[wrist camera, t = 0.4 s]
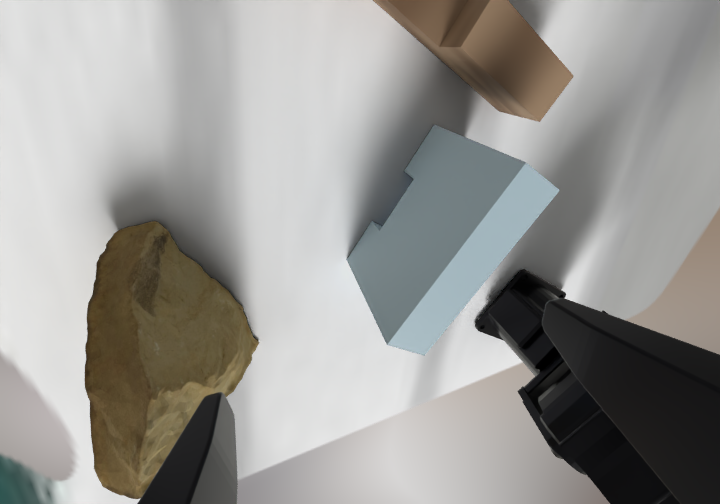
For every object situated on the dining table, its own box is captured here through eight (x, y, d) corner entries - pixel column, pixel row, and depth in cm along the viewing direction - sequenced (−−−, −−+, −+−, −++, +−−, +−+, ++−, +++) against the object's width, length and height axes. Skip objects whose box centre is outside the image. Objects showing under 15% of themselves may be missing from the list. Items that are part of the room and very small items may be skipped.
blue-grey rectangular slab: (434, 124, 20) (526, 162, 14) (462, 145, 21) (560, 190, 15) (346, 259, 23) (387, 344, 17) (376, 271, 24) (424, 355, 18)
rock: (18, 222, 15) (42, 404, 18) (109, 304, 11) (118, 522, 14) (234, 207, 24) (224, 331, 27) (329, 248, 19) (304, 390, 23)
